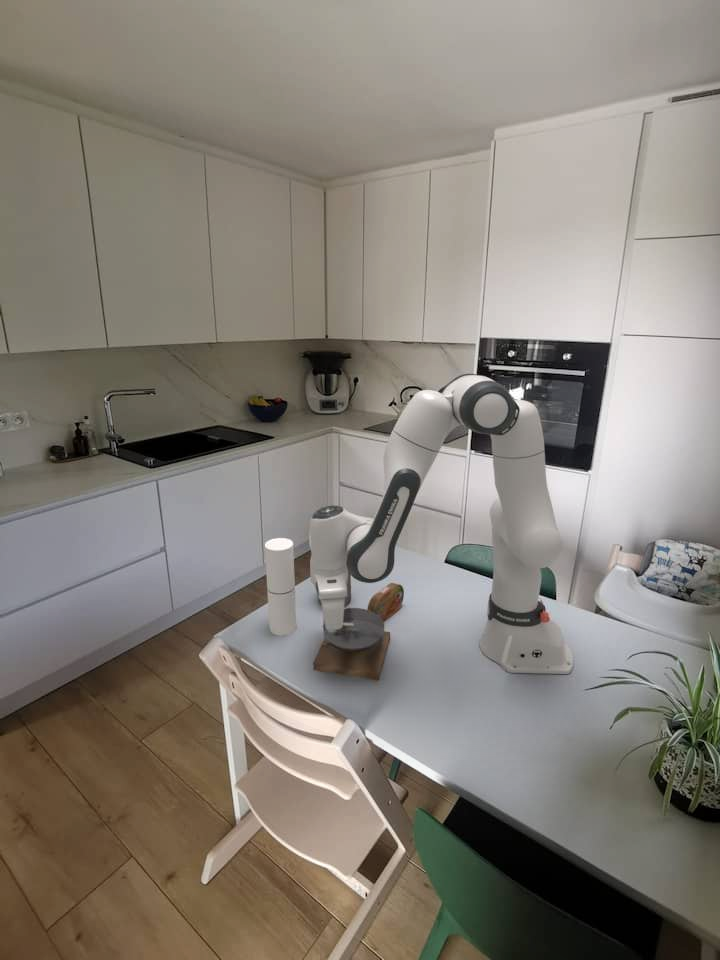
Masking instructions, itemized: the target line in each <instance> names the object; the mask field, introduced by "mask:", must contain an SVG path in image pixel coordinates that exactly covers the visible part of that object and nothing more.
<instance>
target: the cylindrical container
mask: <svg viewBox="0 0 720 960" xmlns="http://www.w3.org/2000/svg"><path fill="white" fill-rule="evenodd" d="M264 554H265V572H266V588H267V589H266V590H267V591H266V592H267V593H266V594H267V604H268V605H267V607H268V622H269V623H268V624H269V625H268V626H269V632H270V633H271V634H272V635H274V636H278V637H279V636H280V637H283V636H288V635H291V634H293V633H295V631H296V630H297V611H296V609H297V608H296V585H295V584H296V583H295V581H296V580H295V561H294V560H295V559H294V558H295V557H294V555H295V554H294V542H293V540H291V539H289V538H285V537H276V538H272V539H269V540H267V541H265V543H264Z"/></svg>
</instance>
